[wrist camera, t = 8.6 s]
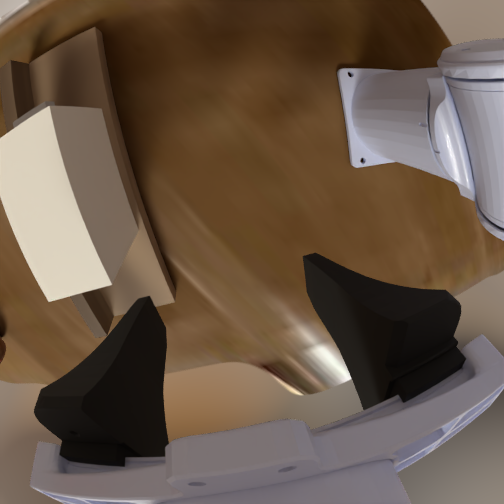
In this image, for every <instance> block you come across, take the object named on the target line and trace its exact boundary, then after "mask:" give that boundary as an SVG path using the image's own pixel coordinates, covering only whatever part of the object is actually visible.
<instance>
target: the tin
mask: <svg viewBox="0 0 504 504" xmlns="http://www.w3.org/2000/svg"><path fill="white" fill-rule="evenodd" d="M5 352H6V345H5V343H4V341H3V340H2V339H1V337H0V363H1V362H2V360H3V358H4V355H5Z"/></svg>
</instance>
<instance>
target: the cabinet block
mask: <svg viewBox="0 0 504 504" xmlns="http://www.w3.org/2000/svg"><path fill="white" fill-rule="evenodd" d="M13 126H14V129H12V130H11V131H10V132H8V133H7V134H6V135H4V136H3V137H1V138H0V197H1V200H2V203H3V206H4V208H5V211H6V214H7V217H8V219H9V222H10V224H11V227H12V229H13V232H14V234H15V236H16V239H17V241H18V243H19V246H20V248H21V250H22V252H23V254H24V256H25V258H26V260H27V263H28V265H29V267H30V269H31V270H32V272H33V274H34V276H35V278H36V280H37V282H38V284H39V285H40V287H41V289H42V291H43V293H44V294H45V296H46V298H47V299H48V301H49V302H50V301H54V300H58V299H61V298H65V297H69V296H72V295H76V294H80V293H84V292H87V291H91V290H95V289H98V288H102V287H106V286H110V285H112V284H113V282H114V280H115V278H116V275H117V273H118V271H119V269H120V267H121V265H122V263H123V261H124V259H125V257H126V255H127V252H128V250H129V248H130V246H131V245H132V243H133V241H134V239H135V237H136V235H137V233H138V231H139V230H138V227H137V224H136V222H135V219H134V216H133V213H132V210H131V208H130V205H129V202H128V199H127V196H126V193H125V190H124V187H123V184H122V181H121V177H120V174H119V171H118V168H117V164H116V161H115V158H114V154H113V151H112V147H111V144H110V140H109V136H108V132H107V128H106V125H105V120H104V116H103V112H102V109H101V108H89V107H74V106H55V103H54V102H50V101H45V102H43V103H41V104H40V105H38V106H37V107H35V108H33V109H32V110H30V111H29V112H27V113H26V114H24V115H23V116H21V117H20V118H18V119H17V120H16V121H14V122H13Z"/></svg>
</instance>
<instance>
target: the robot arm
mask: <svg viewBox="0 0 504 504" xmlns="http://www.w3.org/2000/svg"><path fill="white" fill-rule="evenodd" d="M437 65H438V67H435V68H422V69H411V70H402V71H398V70H385V69H364V68H343V69H339V70H338V72H337V76H338V81H339V86H340V92H341V98H342V103H343V110H344V116H345V123H346V130H347V137H348V146H349V154H350V162H351V165H352V166H354V167H356V168H359V167H365V166H371V165H377V164H384V163H391V162H400V163H403V164H406V165H409V166H412V167H415V168H418V169H421V170H423V171H426V172H429V173H432V174H434V175H437V176H440V177H442V178H445V179H447V180H450V181H452V182H455V183H456V184H457V186H458V187H459V190H460V193H461V195H462V196H464V197H467V198H469V199H471V200H473V201H475V206H476V213H477V216H478V218H479V220H480V222H481V224H482V225H483V226H484V227H485V228H486V229H487V230H488V231H489V232H490V233H491V234H493V235H494V236H496V237H498V238H500V239H502V240H504V39H485V40H476V41H470V42H465V43H461V44H457V45H453V46H450V47H448V48H446V49H444V50H443V51H442V54H441V56H440V58H439V59H438V61H437ZM348 72H350V73H351V77H349V76H348ZM361 158H363V162H362V163H361V162H360V160H361ZM303 262H304V270H305V279H306V288H307V293H308V296H309V298H310V300H311V302H312V305H313V307H314V309H315V311H316V312H317V314H318V316H319V317H320V319H321V320H322V322H323V324H324V325H325V327H326V328H327V330H328V332H329V333H330V335H331V336H332V338H333V340H334V341H335V343H336V345H337V347H338V348H339V350H340V353H341V355H342V357H343V359H344V361H345V364H346V366H347V368H348V371H349V373H350V375H351V378H352V380H353V383H354V385H355V388H356V390H357V393H358V395H359V398H360V401H361V404H362V407H363V410H364V411H361V412H359V413H356V414H354V415H352V416H349V417H347V418H344V419H341V420H338V421H336V422H333V423H330V424H327V425H324V426H321V427H318V428H315V429H312V430H310V427H309V426H308V425H307V424H306V423H305V422H304V421H301V420H294V419H282V420H276V421H268V422H265V423H260V424H256V425H251V426H247V427H242V428H237V429H232V430H226V431H220V432H214V433H208V434H201V435H194V436H187V437H183V438H178V439H174V440H173V441H172V442H170V443H169V442H168V436H167V429H166V422H165V412H164V399H163V382H164V371H165V360H166V349H167V338H166V327H165V325H164V323H163V321H162V319H161V317H160V315H159V313H158V311H157V309H156V307H155V305H154V303H153V301H152V299H151V297H150V296H146V297H142V298H138V299H137V300H136V301H135V303H134V304H133V305H132V306H131V307H130V309H129V310H128V311H127V313H126V314H125V315H124V316H123V318H122V319H121V320H120V321H119V323H118V324H117V325H116V327H115V328H114V329H113V330H112V331H111V333H110V334H109V335H108V336H107V337H106V339H105V340H104V341H103V342H102V343H101V344H100V345H99V346H98V347H97V348H96V349H95V350H94V351H93V352H92V353H91V354H90V355H89V356H88V357H87V358H86V359H84V360H83V361H82V362H81V363H80V364H79V365H78V366H76V367H75V368H74V369H72V370H71V371H70V372H68V373H67V374H66V375H64V376H63V377H61V378H60V379H58V380H57V381H55V382H53V383H51V384H50V385H48V386H46V387H45V388H43V389H41V391H40V394H39V397H38V400H37V403H36V406H35V409H34V413H35V416H36V418H37V419H38V420H39V422H40V423H41V424H42V425H44V426H45V427H46V428H47V429H48V430H49V431H51V432H52V433H53V434H55V435H56V436H57V437H58V438H60V439H61V440H62V444H61V446H60V445H57V444H54V443H48V442H42V441H39V442H38V445H37V449H36V454H35V458H34V464H33V469H32V474H31V480H30V486H31V487H32V488H34V489H36V490H38V491H40V492H41V493H43V494H45V495H47V496H49V497H51V498H54V499H56V500H58V501H60V502H62V503H64V504H411V502H410V500H409V498H408V496H407V493H406V492H405V489H404V487H403V485H402V483H401V481H400V479H399V476H398V474H397V472H399V471H400V470H402V469H404V468H406V467H407V466H409V465H411V464H412V463H414V462H416V461H417V460H419V459H421V458H422V457H424V456H425V455H427V454H428V453H430V452H431V451H433V450H434V449H436V448H437V447H439V446H440V445H441V444H443V443H444V442H445V441H447V440H448V439H450V438H451V437H452V436H454V435H455V434H456V433H457V432H459V431H460V430H461V429H463V428H464V427H465V426H466V425H468V424H469V423H470V422H472V421H473V420H474V419H475V418H476V417H477V416H479V415H480V414H481V413H482V412H484V411H485V410H486V409H487V408H488V407H489V406H490V405H491V404H492V402H494V400H495V399H496V398H497V397H498V395H499V394H500V393H501V391H502V390H503V389H504V357H503V356H502V355H501V354H500V353H499V351H497V349H496V348H495V347H494V346H493V345H492V344H491V343H490V342H489V340H488V339H487V338H486V337H485V336H484V335H479V336H478V337H477V338H475V339H474V340H473V341H471V342H470V343H468V344H467V345H466V346H465V347H463V349H462V350H461V351H459V349H458V348H457V347H456V346H457V344H458V341H457V340H456V339H455V338H454V333H455V331H456V328H457V325H458V322H459V319H460V316H461V305H460V303H459V302H458V301H457V300H456V299H455V298H454V297H453V296H452V295H451V294H450V293H449V292H447V291H446V290H432V289H418V288H410V287H403V286H398V285H394V284H389V283H385V282H382V281H379V280H375V279H372V278H369V277H366V276H364V275H361V274H359V273H356V272H354V271H352V270H349V269H347V268H345V267H343V266H341V265H339V264H337V263H335V262H333V261H331V260H329V259H327V258H325V257H323V256H321V255H319V254H317V253H313V254H309V255H305V256H303Z"/></svg>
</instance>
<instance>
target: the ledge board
mask: <svg viewBox="0 0 504 504" xmlns="http://www.w3.org/2000/svg"><path fill="white" fill-rule="evenodd" d="M0 89H1V98H2V105H3V112H4V118H5V124H6V129H7V133H8V132H10V131H11V130H12V129H14V126H13V122H14V121H16V120H17V119H18V118H20V117H21V116H23V115H24V114H26V113H27V112H29V111H30V110H32V109H33V108H35V107H37V106H38V105H40V104H41V103H43V102H45V101H50V102H54V103H55V106H74V107H89V108H101V109H102V112H103V116H104V120H105V125H106V128H107V132H108V136H109V140H110V144H111V147H112V151H113V154H114V158H115V161H116V164H117V168H118V171H119V174H120V177H121V181H122V184H123V187H124V190H125V193H126V196H127V199H128V202H129V205H130V208H131V210H132V213H133V216H134V219H135V222H136V224H137V227H138V230H139V231H138V233H137V235H136V237H135V239H134V241H133V243H132V245H131V246H130V248H129V250H128V252H127V255H126V257H125V259H124V261H123V263H122V265H121V267H120V269H119V271H118V273H117V275H116V278H115V280H114V282H113V284H112V285H110V286H106V287H102V288H98V289H95V290H91V291H87V292H84V293H80V294H76V295H72V296H70V298H71V299H72V301H73V303H74V304H75V306H76V308H77V309H78V311H79V313H80V314H81V316H82V318H83V319H84V321H85V322H86V324H87V326H88V327H89V329H90V330H91V332H92V333H93V335H94V336H95V338H97V337H103V336H107V335H108V332H109V329H110V326H111V323H112V320H113V317H114V316H116V315H121V314H125V313H127V311H128V310H129V309H130V307H131V306H132V305H133V304H134V303H135V301H136V300H137V299H138V298H142V297H146V296H150V297H151V299H152V301H153V303H154V305H155V307H156V306H160V305H165V304H169V303H173V302H175V297H176V290H175V288H174V285H173V283H172V280H171V278H170V275H169V273H168V270H167V268H166V265H165V263H164V260H163V258H162V255H161V252H160V250H159V247H158V244H157V242H156V239H155V236H154V234H153V231H152V228H151V225H150V222H149V219H148V217H147V214H146V211H145V208H144V205H143V202H142V199H141V196H140V193H139V189H138V186H137V183H136V180H135V177H134V173H133V170H132V167H131V163H130V160H129V156H128V153H127V149H126V145H125V142H124V138H123V134H122V130H121V126H120V123H119V118H118V114H117V110H116V106H115V101H114V97H113V92H112V88H111V83H110V78H109V73H108V67H107V62H106V56H105V50H104V44H103V37H102V32H101V31H100V30H98V29H97V28H96V27H93V28H91V29H89V30H87V31H85V32H83V33H81V34H79V35H77V36H75V37H73V38H71V39H69V40H67V41H65V42H64V43H62V44H60V45H58V46H56V47H55V48H53V49H51V50H50V51H48V52H46V53H45V54H43V55H41V56H40V57H38V58H37V59H35V60H34V61H32V62H31V63H29V64H27V63H22V62H17V61H12V60H10V61H9V62H8V63H6V64H5V65H4V66H3V67H1V68H0Z"/></svg>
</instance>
